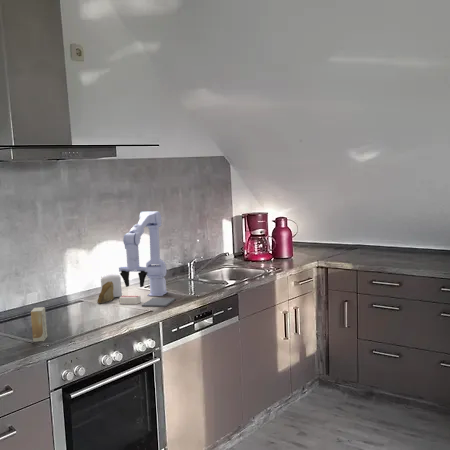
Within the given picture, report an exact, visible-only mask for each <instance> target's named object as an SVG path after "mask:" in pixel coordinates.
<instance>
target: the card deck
mask: <svg viewBox="0 0 450 450" xmlns="http://www.w3.org/2000/svg"><path fill="white" fill-rule="evenodd" d="M118 298H119V299H118V300H119V305H138V304H140V303H141V302H142V299H141V295H139V294H138V295H136V294H135V295H134V294H133V295H132V294H131V295H129V294H127V295H125V294H124V295H123V294H122V296H121V297H118Z"/></svg>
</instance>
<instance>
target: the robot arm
mask: <svg viewBox="0 0 450 450" xmlns="http://www.w3.org/2000/svg"><path fill="white" fill-rule="evenodd" d="M161 214H162V213H160V211H158V210H156V211H153V210H152V211H140V213H139V218H138V219H139V220H138V222H137V223H136V224H133V226H132V228H130V230H129V232H127V233H125V234H124V235H123V239H122V240H123V241H122V242H123V244H124V249H125V250H126V251H125V252H126V266H120V267H118V272H119V275H120V277H121V278H122V279H123V282H124V285H125V287H126V288H128V287H129V286H130V272H138V273H137V274H138V278H139V279H138V280H139V287H140V288H143V287H144V285H145V279H146V277H147V278H148V279H149V292H150V293H149V294H147V297H148V296H149V297H162V296H164V295H165V294H167V293H168V292H169V291H168V290H167V282H166V281H167V280H166V278H165V277H166V275H167V265H166V261H164V259H161V254H160V253H161V252H160V251H161V250H160V227H162V215H161ZM145 227H146V228H148V231H149V254H150V257H149V258H150V259H149V260H148V261H147V262H146V263H145V266H140V254H139V253H140V251H139V245H140V243H141V239H142V236H143V234H144V232H145Z"/></svg>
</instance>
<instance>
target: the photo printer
mask: <svg viewBox="0 0 450 450" xmlns="http://www.w3.org/2000/svg"><path fill="white" fill-rule="evenodd" d="M121 278H122V277H121V275H120V273H108V274H104V275H102V276H101V277H100V286H101V287H100V288H101V289H102V286H103V285H104V284H106V283H107V282H111V281H112V283H113V296H114V298H119V297H121V296H123V293H122V290H123V289H122V280H121Z"/></svg>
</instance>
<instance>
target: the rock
mask: <svg viewBox="0 0 450 450" xmlns="http://www.w3.org/2000/svg"><path fill="white" fill-rule="evenodd" d="M114 299H115V297H114V296H113V283H112V281H111V282H107V283H106V284H104V285H103V286H102V288H101V290H100V293H99V295H98V299H97V301H96V302H97V304H103V303H106V302H110V301H113V300H114Z"/></svg>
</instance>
